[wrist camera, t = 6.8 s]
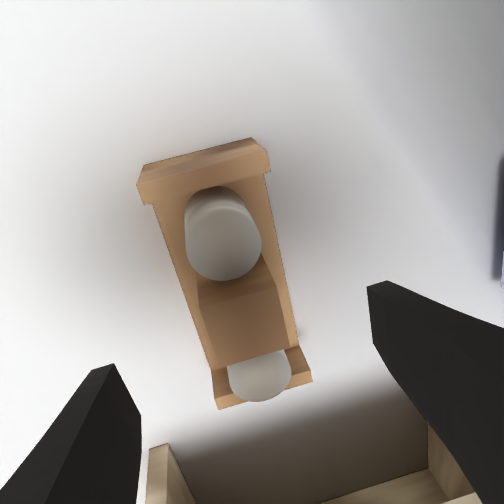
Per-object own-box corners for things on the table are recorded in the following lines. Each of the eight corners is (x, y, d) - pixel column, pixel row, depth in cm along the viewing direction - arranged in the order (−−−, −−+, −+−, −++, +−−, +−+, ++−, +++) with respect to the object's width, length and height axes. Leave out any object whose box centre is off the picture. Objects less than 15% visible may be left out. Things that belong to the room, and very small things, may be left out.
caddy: (250, 137, 18) (280, 162, 13) (294, 339, 23) (327, 415, 18) (143, 164, 17) (129, 202, 12) (212, 363, 23) (222, 447, 18)
